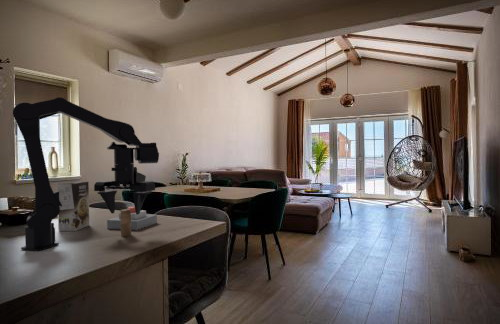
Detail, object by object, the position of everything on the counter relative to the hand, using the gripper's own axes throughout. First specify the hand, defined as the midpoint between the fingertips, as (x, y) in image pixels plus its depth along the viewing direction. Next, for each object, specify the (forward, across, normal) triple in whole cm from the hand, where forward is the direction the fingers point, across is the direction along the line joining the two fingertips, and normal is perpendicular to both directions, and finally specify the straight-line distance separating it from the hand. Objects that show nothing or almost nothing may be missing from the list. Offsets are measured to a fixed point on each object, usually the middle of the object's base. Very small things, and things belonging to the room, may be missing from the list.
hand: (125, 213), depth 102 cm
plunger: (+3, +7, -13) cm, 15 cm away
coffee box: (+7, +25, -5) cm, 26 cm away
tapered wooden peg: (+7, 0, 0) cm, 7 cm away
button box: (+7, +7, -13) cm, 16 cm away
